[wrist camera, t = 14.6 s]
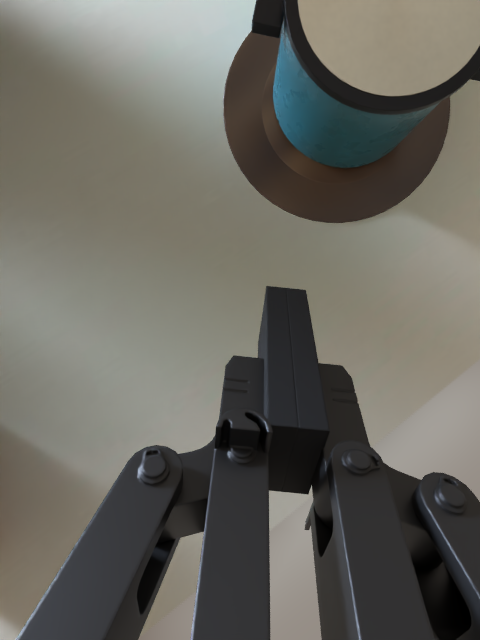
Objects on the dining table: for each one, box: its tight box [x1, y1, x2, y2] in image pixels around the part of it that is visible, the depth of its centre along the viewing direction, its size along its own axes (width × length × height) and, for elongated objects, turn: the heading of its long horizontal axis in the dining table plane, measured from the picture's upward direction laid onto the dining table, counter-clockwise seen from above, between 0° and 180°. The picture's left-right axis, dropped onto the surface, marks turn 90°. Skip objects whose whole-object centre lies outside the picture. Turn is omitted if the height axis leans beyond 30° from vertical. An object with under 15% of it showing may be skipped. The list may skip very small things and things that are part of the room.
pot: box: [252, 0, 480, 168], centre depth 26 cm, size 12×16×10 cm
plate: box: [223, 19, 450, 223], centre depth 32 cm, size 19×19×1 cm
